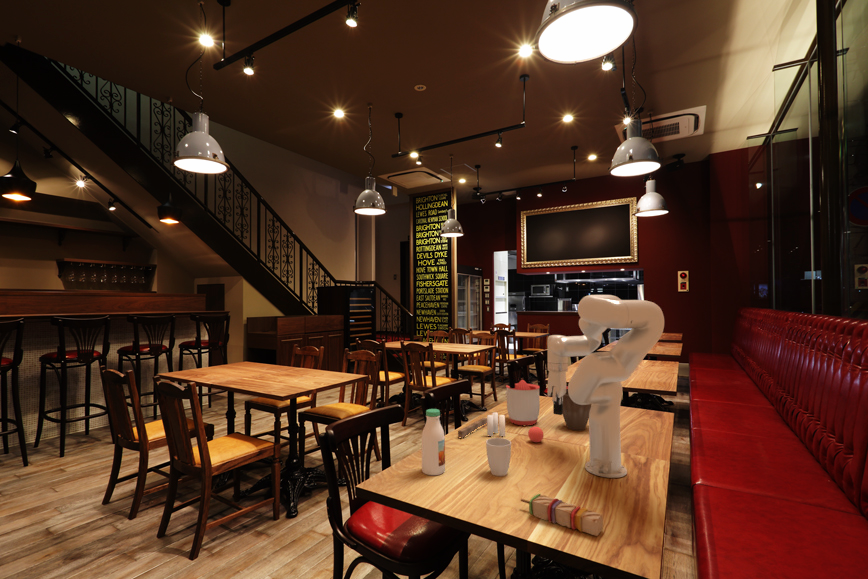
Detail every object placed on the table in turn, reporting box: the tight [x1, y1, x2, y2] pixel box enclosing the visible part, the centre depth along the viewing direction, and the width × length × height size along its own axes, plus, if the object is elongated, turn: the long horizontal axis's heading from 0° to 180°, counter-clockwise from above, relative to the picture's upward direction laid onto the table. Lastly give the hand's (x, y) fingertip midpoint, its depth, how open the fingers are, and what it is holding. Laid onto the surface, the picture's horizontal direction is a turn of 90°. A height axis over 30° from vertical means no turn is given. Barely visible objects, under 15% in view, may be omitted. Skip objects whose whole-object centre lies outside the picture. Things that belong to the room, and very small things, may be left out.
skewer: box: [520, 493, 604, 537], centre depth 103 cm, size 21×6×5 cm, turn 50°
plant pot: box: [562, 388, 592, 432], centre depth 181 cm, size 15×15×16 cm
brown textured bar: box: [457, 417, 487, 439], centre depth 178 cm, size 24×2×3 cm, turn 147°
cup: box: [485, 437, 512, 477], centre depth 133 cm, size 8×8×10 cm
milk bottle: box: [421, 408, 446, 476], centre depth 135 cm, size 8×8×20 cm
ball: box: [527, 426, 545, 443], centre depth 163 cm, size 6×6×6 cm
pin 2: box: [491, 411, 499, 434], centre depth 176 cm, size 2×2×8 cm
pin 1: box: [486, 414, 494, 437], centre depth 171 cm, size 2×2×8 cm
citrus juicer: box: [505, 379, 541, 426], centre depth 192 cm, size 16×17×20 cm
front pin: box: [498, 414, 506, 437], centre depth 171 cm, size 2×2×8 cm
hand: (558, 413), depth 159 cm, fingers closed
